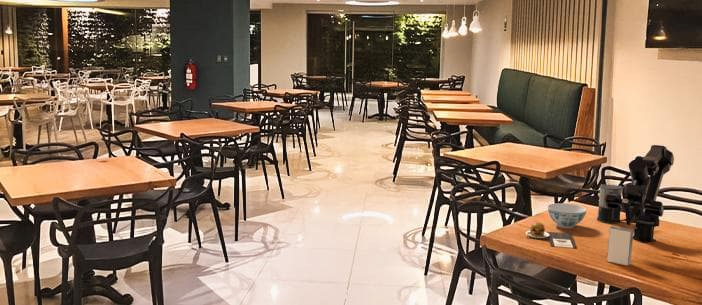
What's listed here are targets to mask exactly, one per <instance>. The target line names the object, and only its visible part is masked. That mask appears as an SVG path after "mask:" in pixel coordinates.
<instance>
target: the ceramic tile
mask: <svg viewBox="0 0 702 305" xmlns="http://www.w3.org/2000/svg"><path fill="white" fill-rule="evenodd" d="M633 236H634V229H631V228H624V227H619V226H614V225H612V226H610V227H609V231H608V242H607V254H606V262H608V263H612V264H616V265H621V266H626V267H629V266H630V265H631V261H632V251H633Z"/></svg>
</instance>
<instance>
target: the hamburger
mask: <svg viewBox="0 0 702 305" xmlns="http://www.w3.org/2000/svg"><path fill="white" fill-rule="evenodd" d="M529 228H530V230H527V231H526V232H525V234H526V235H527V237H529V238H527V239H530V240H535V241H542V242H547V243H548V242H549V243H550V241H549V238H548V236H550V235H549V234H548V233H547V232H546V228H545V225H544V224H543V223H542V222H538V221H536V222H533V223H532V224H531V225H530V227H529Z"/></svg>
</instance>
